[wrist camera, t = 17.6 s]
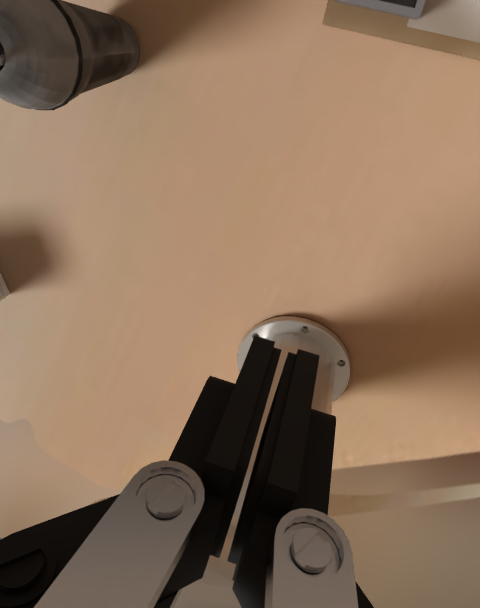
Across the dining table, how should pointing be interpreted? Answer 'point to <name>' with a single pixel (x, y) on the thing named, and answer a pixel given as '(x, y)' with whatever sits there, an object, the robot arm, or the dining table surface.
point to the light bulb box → (3, 288)
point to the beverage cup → (60, 51)
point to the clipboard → (417, 25)
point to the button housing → (390, 6)
